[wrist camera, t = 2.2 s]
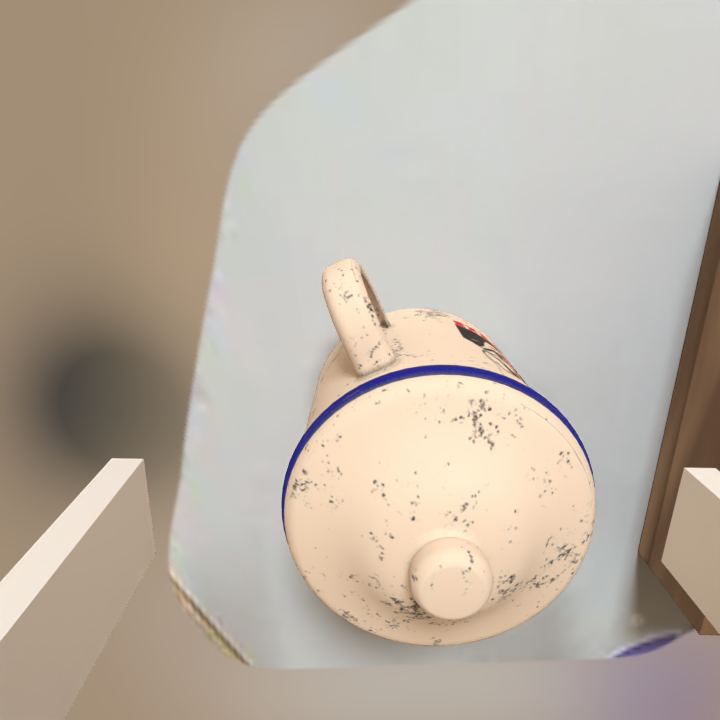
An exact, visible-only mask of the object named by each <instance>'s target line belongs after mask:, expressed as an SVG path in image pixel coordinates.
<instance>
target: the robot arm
mask: <svg viewBox="0 0 720 720" xmlns="http://www.w3.org/2000/svg"><path fill="white" fill-rule="evenodd" d="M155 554H156V552H155V544H154V537H153V529H152V521H151V513H150V505H149V498H148V490H147V482H146V474H145V466H144V460H143V459H115V458H112V459H111V460H110V461H109V462H108V463H107V464H106V465H105V467H104V468H103V469H102V470H101V471H100V472H99V473H98V474H97V475H96V477H95V478H94V479H93V480H92V481H91V482H90V483H89V484H88V486H86V488H85V489H84V490H83V491H82V492H81V493H80V494H79V496H77V498H76V499H75V500H74V501H73V502H72V503H71V504H70V505H69V506H68V508H67V509H66V510H65V511H64V512H63V513H62V514H61V515H60V516H59V518H58V519H57V520H56V521H55V522H54V523H53V524H52V525H51V526H50V528H49V529H48V530H47V531H46V532H45V533H44V534H43V535H42V536H41V538H40V539H39V540H38V541H37V542H36V543H35V544H34V545H33V546H32V548H31V549H30V550H29V551H28V552H27V553H26V554H25V555H24V556H23V557H22V559H21V560H20V561H19V562H18V563H17V564H16V565H15V566H14V568H12V570H11V571H10V572H9V573H8V574H7V575H6V576H5V577H4V578H3V580H2V581H1V582H0V720H64V719H65V717H66V715H67V713H68V711H69V710H70V708H71V706H72V704H73V702H74V700H75V699H76V697H77V695H78V693H79V692H80V690H81V688H82V686H83V684H84V682H85V681H86V679H87V677H88V675H89V673H90V672H91V670H92V668H93V666H94V664H95V663H96V661H97V659H98V657H99V655H100V653H101V651H102V650H103V648H104V646H105V644H106V643H107V641H108V639H109V637H110V635H111V634H112V632H113V630H114V628H115V626H116V624H117V623H118V621H119V619H120V617H121V615H122V614H123V612H124V610H125V608H126V606H127V605H128V603H129V601H130V599H131V597H132V595H133V594H134V592H135V590H136V588H137V586H138V584H139V583H140V581H141V579H142V577H143V576H144V574H145V572H146V570H147V568H148V566H149V565H150V563H151V561H152V559H153V557H154V556H155ZM661 561H662V563H663V564H664V565H665V566H666V568H667V569H668V570H669V571H670V573H671V574H672V575H673V576H674V578H675V579H676V580H677V581H678V583H679V584H680V585H681V586H682V588H683V589H684V590H685V591H686V593H687V594H688V595H689V596H690V598H691V599H692V600H693V601H694V603H695V604H696V605H697V606H698V608H699V609H700V610H701V611H702V613H703V614H704V615H705V616H706V618H707V619H708V620H709V622H710V623H711V624H712V625H713V627H714V628H715V629H716V630H717V632H718V633H719V634H720V471H718V470H717V469H716V468H684V470H683V474H682V478H681V482H680V486H679V490H678V494H677V499H676V503H675V507H674V511H673V515H672V519H671V523H670V527H669V531H668V535H667V540H666V544H665V548H664V552H663V556H662V560H661Z"/></svg>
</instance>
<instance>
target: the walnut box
mask: <svg viewBox="0 0 720 720" xmlns="http://www.w3.org/2000/svg"><path fill="white" fill-rule="evenodd" d="M684 468H716V469H717V470H718V471H720V184H719V189H718V194H717V198H716V203H715V207H714V212H713V216H712V221H711V225H710V230H709V234H708V239H707V243H706V248H705V252H704V257H703V261H702V266H701V270H700V275H699V279H698V284H697V288H696V293H695V298H694V302H693V307H692V311H691V316H690V320H689V325H688V329H687V334H686V338H685V343H684V347H683V352H682V356H681V361H680V365H679V370H678V374H677V379H676V383H675V388H674V392H673V397H672V402H671V406H670V411H669V415H668V420H667V424H666V429H665V433H664V438H663V442H662V447H661V451H660V456H659V460H658V465H657V469H656V474H655V478H654V483H653V487H652V492H651V496H650V501H649V505H648V510H647V515H646V519H645V524H644V528H643V533H642V537H641V542H640V546H639V551H638V552H639V554H640V555H641V556H642V558H643V559H644V560H645V562H646V563H647V564H648V566H649V567H650V569H651V570H652V571H653V573H654V574H655V575H656V577H657V578H658V579H659V581H660V582H661V583H662V585H663V586H664V587H665V589H666V590H667V591H668V593H669V594H670V596H671V597H672V598H673V600H674V601H675V602H676V604H677V605H678V606H679V608H680V609H681V610H682V612H683V613H684V614H685V616H686V617H687V618H688V620H689V621H690V623H691V624H692V625H693V627H694V628H695V629H696V631H697V632H698V633H699V634H700V635H720V634H719V633H718V632H717V630H716V629H715V628H714V627H713V625H712V624H711V623H710V622H709V620H708V619H707V618H706V616H705V615H704V614H703V613H702V611H701V610H700V609H699V608H698V606H697V605H696V604H695V603H694V601H693V600H692V599H691V598H690V596H689V595H688V594H687V593H686V591H685V590H684V589H683V588H682V586H681V585H680V584H679V583H678V581H677V580H676V579H675V578H674V576H673V575H672V574H671V573H670V571H669V570H668V569H667V568H666V566H665V565H664V564H663V563H662V561H661V560H662V556H663V552H664V548H665V544H666V540H667V535H668V531H669V527H670V523H671V519H672V515H673V511H674V507H675V503H676V499H677V494H678V490H679V486H680V482H681V478H682V474H683V470H684Z"/></svg>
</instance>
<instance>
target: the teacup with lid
mask: <svg viewBox="0 0 720 720" xmlns="http://www.w3.org/2000/svg"><path fill="white" fill-rule="evenodd" d="M322 289H323V294H324V298H325V301H326V304H327V307H328V310H329V313H330V316H331V318H332V321H333V323H334V326H335V328H336V331H337V333H338V335H339V337H340V340H341V341H340V343H339V344H338V345H337V346H336V347H335V348H334V350H333V351H332V353H331V354H330V356H329V357H328V359H327V361H326V363H325V365H324V367H323V369H322V371H321V374H320V377H319V381H318V384H317V388H316V392H315V396H314V400H313V404H312V408H311V412H310V416H309V419H308V423H307V427H306V431H305V434H304V435H303V437H302V438H301V440H300V442H299V444H298V445H297V447H296V449H295V451H294V453H293V455H292V458H291V460H290V462H289V465H288V469H287V472H286V475H285V480H284V485H283V491H282V520H283V526H284V531H285V535H286V539H287V542H288V545H289V549H290V552H291V554H292V557H293V559H294V562H295V564H296V566H297V568H298V570H299V571H300V573H301V575H302V576H303V578H304V579H305V581H306V582H307V584H308V585H309V586H310V588H311V589H312V590H313V591H314V593H315V594H316V595H317V596H318V597H319V598H320V599H321V600H322V601H323V602H324V603H325V604H326V605H327V606H328V607H329V608H330V609H331V610H333V611H334V612H335V613H336V614H338V615H339V616H340V617H342V618H343V619H345V620H346V621H348V622H350V623H351V624H353V625H355V626H357V627H358V628H361V629H363V630H365V631H367V632H369V633H372V634H374V635H377V636H380V637H383V638H386V639H390V640H393V641H397V642H402V643H408V644H415V645H427V646H444V645H456V644H464V643H469V642H474V641H479V640H482V639H486V638H489V637H493V636H495V635H498V634H501V633H503V632H506V631H508V630H510V629H512V628H514V627H516V626H518V625H520V624H522V623H523V622H525V621H527V620H529V619H530V618H532V617H533V616H534V615H536V614H537V613H539V612H540V611H541V610H543V609H544V608H545V607H546V606H547V605H549V604H550V603H551V602H552V601H553V600H554V599H555V598H556V597H557V596H558V595H559V594H560V593H561V592H562V591H563V590H564V588H565V587H566V586H567V585H568V584H569V582H570V581H571V579H572V578H573V576H574V575H575V574H576V572H577V570H578V568H579V567H580V565H581V563H582V561H583V559H584V556H585V554H586V552H587V549H588V547H589V543H590V540H591V537H592V533H593V528H594V523H595V514H596V494H595V484H594V478H593V472H592V468H591V464H590V461H589V458H588V455H587V453H586V450H585V448H584V446H583V444H582V442H581V440H580V438H579V436H578V435H577V433H576V431H575V430H574V429H573V427H572V426H571V424H570V423H569V422H568V420H567V419H566V418H565V417H564V416H563V415H562V414H561V413H560V411H559V410H558V409H557V408H556V407H555V406H553V405H552V404H551V403H550V402H549V401H548V400H547V399H545V398H544V397H543V396H541V395H540V394H538V393H537V392H535V391H534V390H533V389H531V388H529V386H528V385H527V384H526V383H525V381H524V380H523V379H522V378H521V376H520V375H519V374H518V373H517V371H516V370H515V369H514V368H513V366H512V365H511V364H510V363H509V362H508V360H507V359H506V358H505V357H504V355H503V354H502V353H501V352H500V350H499V349H498V348H497V347H496V345H495V344H494V343H493V342H492V341H491V340H490V339H489V338H488V336H486V335H485V334H484V333H483V332H482V331H481V330H479V329H478V328H477V327H475V326H474V325H472V324H471V323H469V322H467V321H465V320H464V319H461V318H459V317H457V316H455V315H452V314H449V313H446V312H442V311H437V310H431V309H415V308H414V309H402V310H397V311H392V312H388V313H385V311H384V309H383V307H382V305H381V303H380V300H379V298H378V296H377V294H376V292H375V290H374V288H373V286H372V284H371V282H370V280H369V278H368V276H367V275H366V273H365V271H364V270H363V268H362V267H361V266H360V265H359V264H358V263H357V262H356V261H354V260H352V259H344V260H341V261H339V262H336V263H334V264H332V265H330V266H328V267H327V268H326V269H325V271H324V272H323V275H322Z"/></svg>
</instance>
